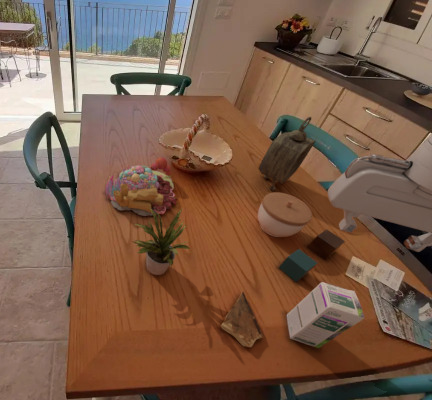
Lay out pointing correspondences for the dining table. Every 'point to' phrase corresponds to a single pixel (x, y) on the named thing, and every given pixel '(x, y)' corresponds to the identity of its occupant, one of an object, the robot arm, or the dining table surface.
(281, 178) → the old cowbell
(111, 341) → the dining table surface
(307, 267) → the block
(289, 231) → the lidded bowl
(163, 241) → the house plant
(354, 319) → the syrup box
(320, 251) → the block
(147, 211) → the candy landscape model
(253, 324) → the shard
